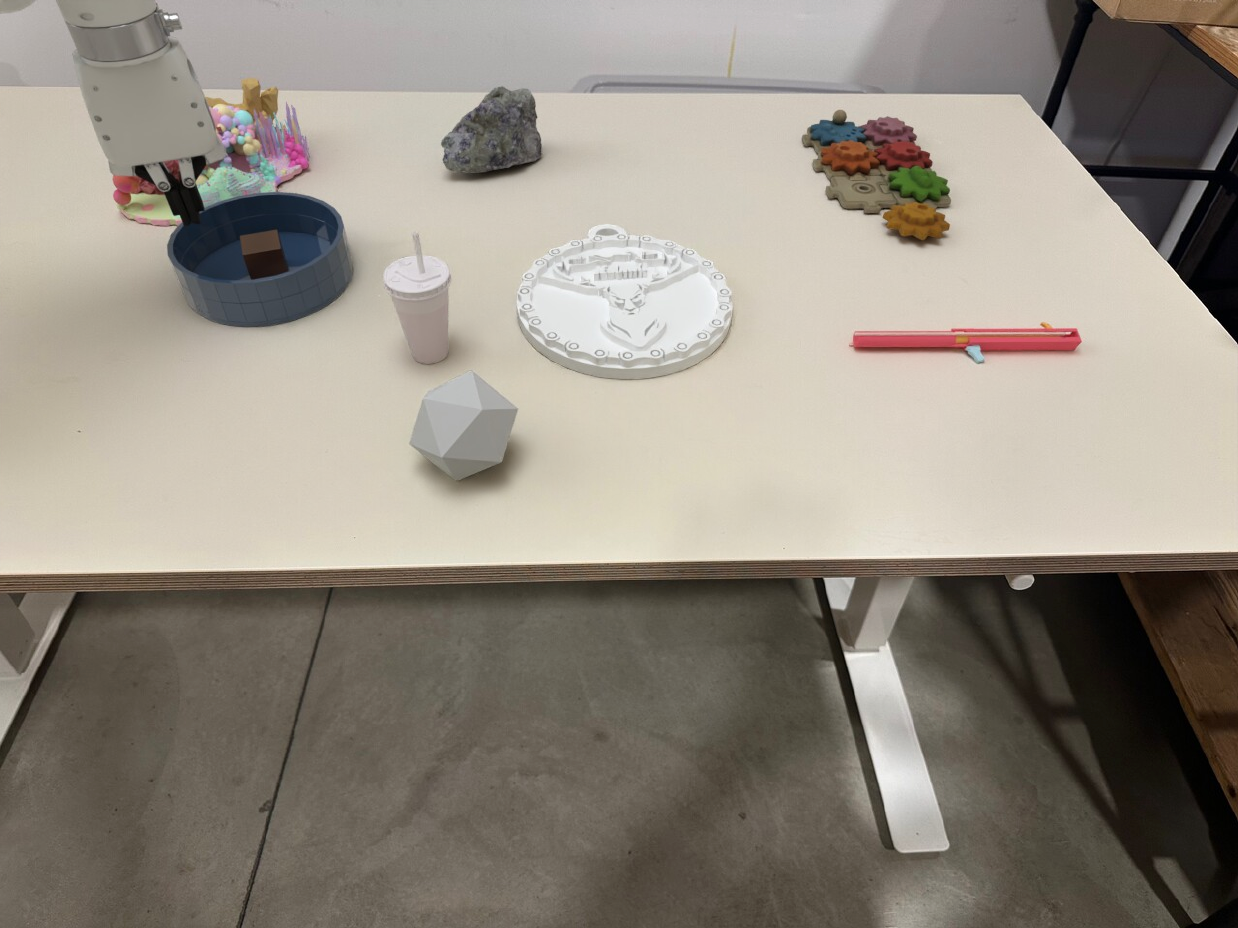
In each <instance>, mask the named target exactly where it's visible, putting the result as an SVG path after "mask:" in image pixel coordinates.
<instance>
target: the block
mask: <svg viewBox="0 0 1238 928" xmlns="http://www.w3.org/2000/svg"><path fill="white" fill-rule="evenodd" d="M240 242H241V248H242V255H243V258H244V261H245V264H246V267H247V270H248V273H249V276H250V278H251V280H254V279H259V278H265V277H271V276H276V275H279V274H282V273H285V272H289V270H288V266H287V261H286V257H285V254H284V251H283V247H282V244H281V240H280V237H279V234H278V230H272V231H266V232H260V233H254V234H248V235H242V236H240Z"/></svg>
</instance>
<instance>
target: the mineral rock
mask: <svg viewBox="0 0 1238 928" xmlns="http://www.w3.org/2000/svg"><path fill="white" fill-rule="evenodd" d="M536 107H537V106H536V99H535V97H534V95H533V93H532V92H531V90H530V89H529V88H523V87H522V88H520V89H514V90H510V89H508V88H506V87H505V86H503V85H501V86H496V87H494V88H493V89H492V90H490V92H489V93H487V94H485V95H484V97H483V98H482V100H481V101H480V102H479V104H478V106H476V107H474V108H473V109H472V110H471V111H469V112H467V113H466V114H465V115H464V116H462V118H461V119H460V120H459V121H458V122H457V123H456V124H455V126H454V127H453V128H452V130H451V131H449V132H448V133H447V134H446V135H445V136H444V137H443V138H442V139H441V142H440V145H441V147H442V148H443V153H444V155H443V157H442V163H443V164H444V166H445V168H446V169H447V170H448V171H451V172H453V173H467V174H472V173H487V172H491V171H496V170H503V169H505V168H506V169H509V168H510V167H512V166H518V165H523V164H527V163H531V162H536V161H537V160H538V159H541V157H542V154H543V153H542V151H543V147H542V145H543V144H542V137H541V133H540V132H539V130H538V128H537V119H538V114H537V110H536Z"/></svg>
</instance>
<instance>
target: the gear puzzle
mask: <svg viewBox="0 0 1238 928" xmlns="http://www.w3.org/2000/svg"><path fill="white" fill-rule="evenodd" d="M847 119H848V115H847V112H846V111H845V110H843V109H837V110H835V111H834V113H833V114H832V120H830V119H820V120H819V123H815V124H814V123H813V124H811V125H810V126H809V127H807V128H806V129H807V130H806V134H802V136H801V142H802V144H803V146H804V147H811V146H812V147H813V148H814V151H815V152H816V154H817V158H814V159H812V163H811V165H812V168H813V169H814V171H815V172H817V173H818V172H824V173H825V176H826V178H827V179H828V180H829V181H830V185H826V187H825V194H826V197H827V198H828V199H830V200H832V199H837V201H838V202H839V204H840V206H841V207H842V208H844V209H847V210H848V209H863V213H864V214H880V213H881V211H882V209H890V210H887V211H884V212H883V214H882V219H883V220H885V221H886V222H887V223H886V229H891V230H896V231H898V233H899V235H900V236H901V237H910V236H913V237H915V238H916V239H918V240H920V241H925V240H926V239H927V238H928V237H931V238H936V239H940V238H942V236H943V232H947V231H949V230H950V227H951V224H950V223H949V222H948V221H946V220H945V219H946V214H944V213H941V212H938V211H937V208H946V207H950V205H951V203H952V199H951V197H950V195H949V194H950V191H951V189H950V187H948V182H949V180H948V179H947V178H944V177H942V176H939V175H937V172H936V171H935V170H933V169H932V168H931V167H932V166H933V164H934V163H933V162H934V161H933V160H932V159H931V153H930V152H928V151H926V150H922V148H921V146H920V145H916V143H915V142H916V141H917V138H918V135H917V134H916V133H914V131H915V130H914V129H915V128H914V127H913V126H910V125H906V122H905V121H904V120H900V119H899V118H898V117H890V116H885V117H882V116H880V117H878V118H877V119H868V120H867V122H866V123H865V124H862V125H858V126H857V125H856V124H855V122H854V121H846V120H847Z"/></svg>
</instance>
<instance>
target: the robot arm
mask: <svg viewBox="0 0 1238 928" xmlns="http://www.w3.org/2000/svg"><path fill="white" fill-rule="evenodd" d="M36 1H37V0H0V14H13V13H17V12H20V11H23V10H25V9H26V8H28V7H30V6H31V5H32V4H33V3H35V2H36ZM55 2H56V5H57V6H58V9H59V11H60V13H61V15H62V18H63V20H64V22H65V25H66V27H67V30H68V32H69V34H70V37H71V38H72V40H73V43H74V45H75V50H73V52H72V55H71V56H72V61H73V65H74V69H75V74H76V78H77V82H78V85H79V89H80V93H81V96H82V99H83V102H84V104H85V108H86V111H87V114H88V117H89V119H90V122H91V125H92V127H93V130H94V132H95V135H96V138H97V141H98V143H99V145H100V148H101V150H102V153H103V154H104V156H105V158H106V159H107V161H108V167H109V172H110V173H111V174H112V176H113V175H116V176H138V177H140V178H142V179H144V180H146V181H148V182H150V183H151V184H153V185H155V186H157V188H158V189H159V190H160V191H162V192H164V194H165V196H166V199H167V201H168V204H169V206H170V209H171V211H172V214H173V216H177V215H180V217H181V220H182V222H183V225H184V226H190V224H191V220H192V223H195V224H201V222H200V212H201V211H205V209H204V204H203V201H202V199H201V196H200V193H199V191H198V188H197V185H196V180H197V179H198V177H199V176H200V174H201V173H202V171H203V170H204V168H205V166H206V165H208V164H212V163H215V162H217V161H220V160H222V159H224V158H226V149H225V147H224V145H223V143H222V142H221V140H220V139H219V137H218V136H217V134H216V127H215V123H214V120H213V116H212V114H211V111H210V108H209V105H208V103H207V100H206V98H205V97H206V96H205V93H204V90H203V88H202V85H201V83H200V81H199V77H198V76H197V74H196V73H197V72H196V71H195V69H194V67H193V65H192V63H191V60H190V58H189V56H188V54H187V53H186V51H185V49H184V47H183V45H182V43H181V41H179V39H178V38H177V37H175V36H172V35H171V33H175V31H180V30H183V25H182V22H181V19H180V16H179V13H178V12H174V13H169V12H168V11H167V12H164V11H163V9H162V8H161V9H160V7H159V5H158V3H157V2H156V0H55ZM177 159H178V163H179V168H180V173H179V181H178V179H176V178H175V176H173V175H172V174H170V173H169V171H168V169H167V167H166V165H165V164H164V162H165V161H171V160H177Z"/></svg>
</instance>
